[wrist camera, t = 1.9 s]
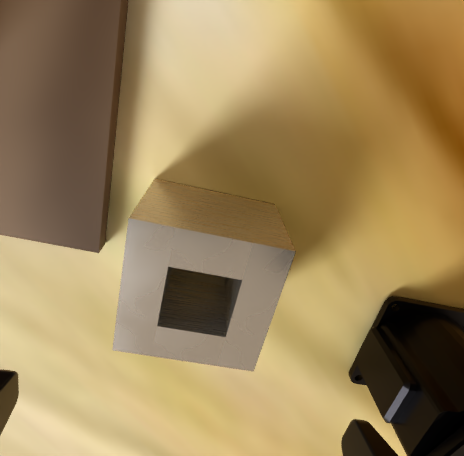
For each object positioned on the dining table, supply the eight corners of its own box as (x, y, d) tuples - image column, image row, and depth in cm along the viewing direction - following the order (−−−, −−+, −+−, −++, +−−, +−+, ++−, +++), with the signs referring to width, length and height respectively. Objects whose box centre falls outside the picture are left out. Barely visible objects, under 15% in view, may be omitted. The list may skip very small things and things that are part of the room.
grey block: (275, 204, 17) (295, 251, 12) (245, 301, 19) (253, 371, 14) (154, 178, 16) (128, 218, 11) (139, 282, 18) (112, 350, 14)
